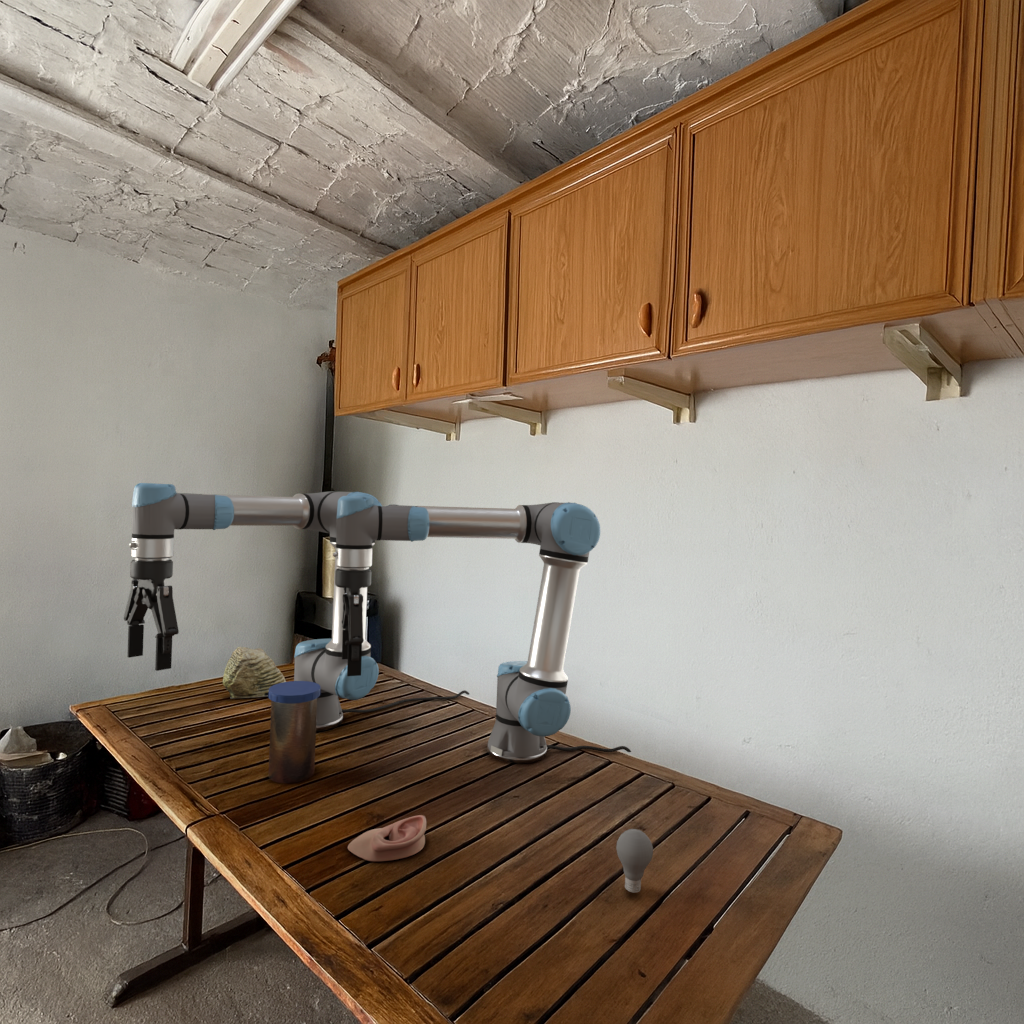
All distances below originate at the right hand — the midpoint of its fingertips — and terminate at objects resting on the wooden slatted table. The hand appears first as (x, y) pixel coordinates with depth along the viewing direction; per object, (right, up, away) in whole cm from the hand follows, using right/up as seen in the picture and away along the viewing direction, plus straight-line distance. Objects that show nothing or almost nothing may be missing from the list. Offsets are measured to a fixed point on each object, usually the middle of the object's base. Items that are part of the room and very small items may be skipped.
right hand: (350, 666), depth 136 cm
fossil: (-46, -24, +62) cm, 81 cm away
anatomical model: (+12, -28, -20) cm, 36 cm away
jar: (-16, -26, +8) cm, 32 cm away
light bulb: (+55, -30, -30) cm, 69 cm away
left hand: (-40, +2, -6) cm, 40 cm away
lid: (-15, -7, +8) cm, 18 cm away
